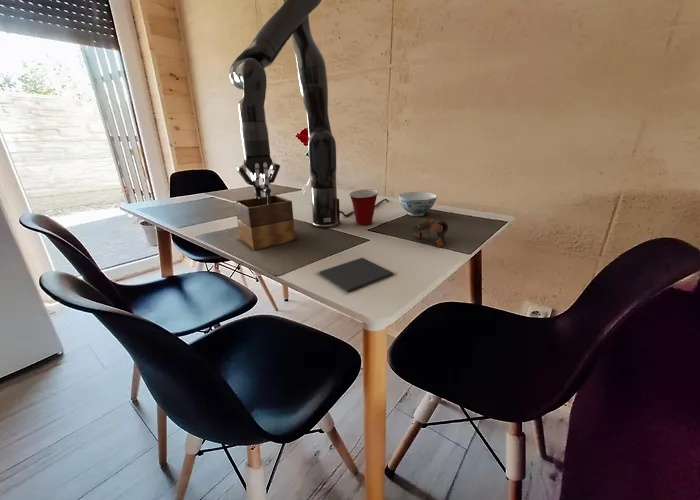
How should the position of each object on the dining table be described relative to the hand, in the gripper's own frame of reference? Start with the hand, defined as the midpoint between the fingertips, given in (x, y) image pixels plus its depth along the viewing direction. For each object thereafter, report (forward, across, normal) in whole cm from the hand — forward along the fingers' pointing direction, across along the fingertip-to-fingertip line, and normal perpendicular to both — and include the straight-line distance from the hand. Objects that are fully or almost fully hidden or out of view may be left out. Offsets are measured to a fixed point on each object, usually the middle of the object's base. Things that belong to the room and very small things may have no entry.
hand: (262, 197), depth 97 cm
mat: (+14, +7, -38) cm, 41 cm away
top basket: (+7, 0, 0) cm, 7 cm away
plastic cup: (+14, +36, -6) cm, 39 cm away
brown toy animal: (+14, +40, -35) cm, 55 cm away
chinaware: (+14, +61, -10) cm, 63 cm away
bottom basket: (+14, 0, 0) cm, 14 cm away
